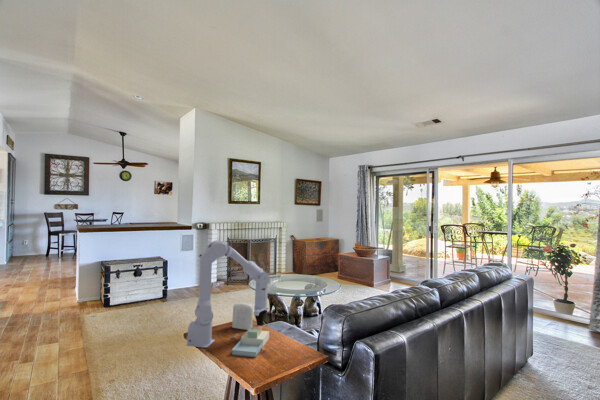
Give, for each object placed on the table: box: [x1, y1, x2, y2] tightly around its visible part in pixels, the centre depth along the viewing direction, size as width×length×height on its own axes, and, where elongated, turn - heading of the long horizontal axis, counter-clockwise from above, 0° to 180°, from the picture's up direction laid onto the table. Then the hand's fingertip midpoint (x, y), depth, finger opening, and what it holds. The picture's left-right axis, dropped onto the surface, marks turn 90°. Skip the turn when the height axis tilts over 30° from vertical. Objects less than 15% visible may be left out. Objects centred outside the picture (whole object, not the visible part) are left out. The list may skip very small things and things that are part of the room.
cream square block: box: [240, 329, 270, 347], centre depth 139 cm, size 10×10×3 cm
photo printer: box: [231, 301, 254, 331], centre depth 155 cm, size 10×4×12 cm, turn 75°
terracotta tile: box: [251, 324, 264, 334], centre depth 141 cm, size 4×4×2 cm
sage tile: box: [248, 329, 260, 338], centre depth 137 cm, size 4×4×2 cm
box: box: [231, 339, 264, 358], centre depth 129 cm, size 10×10×2 cm
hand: (260, 326), depth 146 cm, fingers closed
